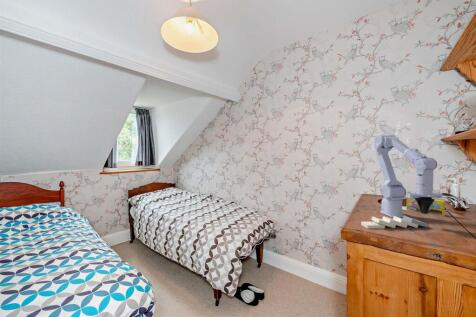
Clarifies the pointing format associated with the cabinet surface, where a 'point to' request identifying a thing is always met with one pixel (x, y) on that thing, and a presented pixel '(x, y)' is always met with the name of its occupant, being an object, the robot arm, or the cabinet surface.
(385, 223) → the ivory domino
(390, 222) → the ivory domino
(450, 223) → the cabinet surface
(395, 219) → the ivory domino
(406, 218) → the slate domino
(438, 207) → the candy box
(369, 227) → the ivory domino
